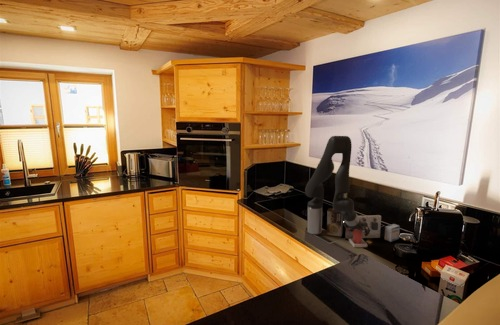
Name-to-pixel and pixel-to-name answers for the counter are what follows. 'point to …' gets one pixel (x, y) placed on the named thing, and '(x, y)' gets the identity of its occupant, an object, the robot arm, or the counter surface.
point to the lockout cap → (357, 237)
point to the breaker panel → (371, 222)
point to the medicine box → (392, 232)
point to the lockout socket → (363, 244)
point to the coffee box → (334, 222)
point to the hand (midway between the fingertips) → (359, 232)
